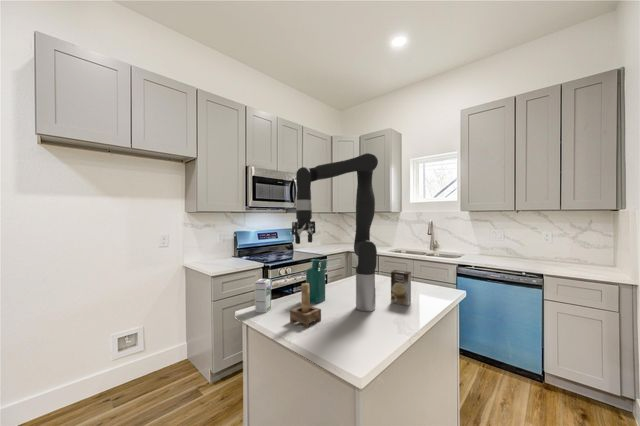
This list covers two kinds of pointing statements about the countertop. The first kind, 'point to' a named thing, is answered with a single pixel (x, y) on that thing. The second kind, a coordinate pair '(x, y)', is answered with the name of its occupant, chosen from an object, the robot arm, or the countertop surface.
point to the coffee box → (401, 287)
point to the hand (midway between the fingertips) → (304, 243)
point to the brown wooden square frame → (305, 315)
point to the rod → (305, 298)
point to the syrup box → (262, 295)
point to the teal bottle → (316, 281)
